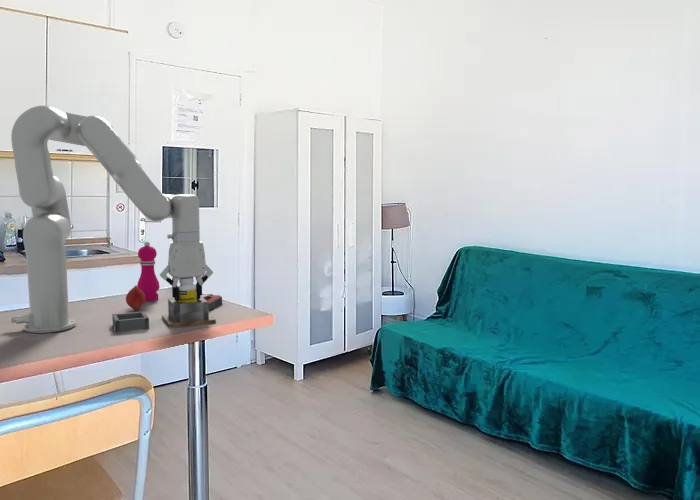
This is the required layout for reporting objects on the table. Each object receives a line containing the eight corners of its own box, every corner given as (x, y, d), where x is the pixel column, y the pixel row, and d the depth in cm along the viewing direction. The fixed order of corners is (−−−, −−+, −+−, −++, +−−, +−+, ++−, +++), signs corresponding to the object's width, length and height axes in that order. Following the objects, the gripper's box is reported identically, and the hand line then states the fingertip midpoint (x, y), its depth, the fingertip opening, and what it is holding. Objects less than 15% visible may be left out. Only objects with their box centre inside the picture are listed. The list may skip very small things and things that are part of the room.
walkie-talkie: (200, 302, 195) (171, 316, 175) (200, 289, 194) (171, 302, 175) (224, 303, 193) (198, 318, 174) (224, 290, 193) (198, 303, 173)
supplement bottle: (177, 313, 165) (175, 280, 163) (179, 308, 170) (177, 276, 169) (197, 311, 166) (195, 278, 164) (198, 307, 171) (196, 275, 170)
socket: (169, 327, 160) (168, 306, 159) (162, 318, 171) (161, 298, 170) (215, 322, 166) (215, 302, 165) (205, 314, 177) (205, 294, 176)
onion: (122, 311, 179) (121, 286, 178) (134, 307, 184) (133, 283, 183) (138, 313, 177) (137, 287, 176) (149, 309, 182) (148, 284, 181)
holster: (115, 332, 155) (115, 321, 155) (112, 324, 163) (112, 314, 162) (149, 328, 159) (148, 317, 159) (144, 321, 167) (144, 311, 166)
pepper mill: (164, 298, 197) (162, 241, 195) (147, 302, 191) (145, 243, 189) (150, 296, 201) (148, 239, 199) (133, 299, 195) (130, 241, 193)
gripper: (157, 239, 158) (159, 304, 160) (219, 237, 166) (219, 299, 168) (153, 237, 165) (154, 298, 167) (212, 235, 172) (213, 294, 175)
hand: (187, 298), depth 167 cm, fingers closed on supplement bottle, 5 cm apart
